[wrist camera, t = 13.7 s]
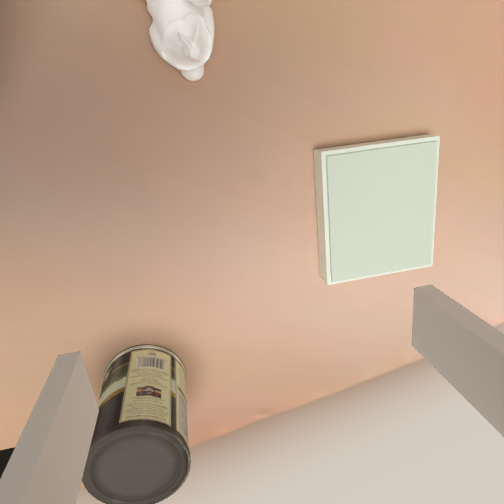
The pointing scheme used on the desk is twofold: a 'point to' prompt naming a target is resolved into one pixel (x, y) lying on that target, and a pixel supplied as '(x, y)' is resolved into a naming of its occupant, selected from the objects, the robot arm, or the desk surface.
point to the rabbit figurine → (183, 34)
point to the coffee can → (140, 429)
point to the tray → (376, 207)
